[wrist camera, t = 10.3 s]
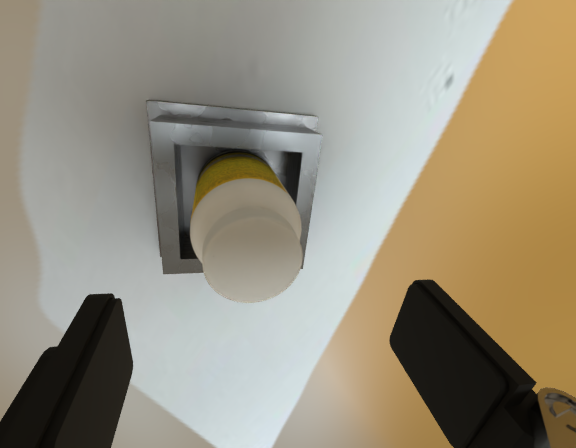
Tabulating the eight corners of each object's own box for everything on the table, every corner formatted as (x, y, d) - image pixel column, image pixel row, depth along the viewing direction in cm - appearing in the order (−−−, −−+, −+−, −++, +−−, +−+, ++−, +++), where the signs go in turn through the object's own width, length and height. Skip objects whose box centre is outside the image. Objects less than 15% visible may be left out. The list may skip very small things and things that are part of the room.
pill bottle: (178, 182, 22) (150, 261, 12) (243, 130, 21) (267, 170, 12) (232, 236, 25) (244, 335, 15) (290, 192, 24) (341, 265, 15)
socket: (148, 99, 20) (132, 104, 16) (315, 115, 23) (336, 123, 19) (161, 251, 25) (152, 283, 21) (297, 248, 28) (310, 276, 24)
